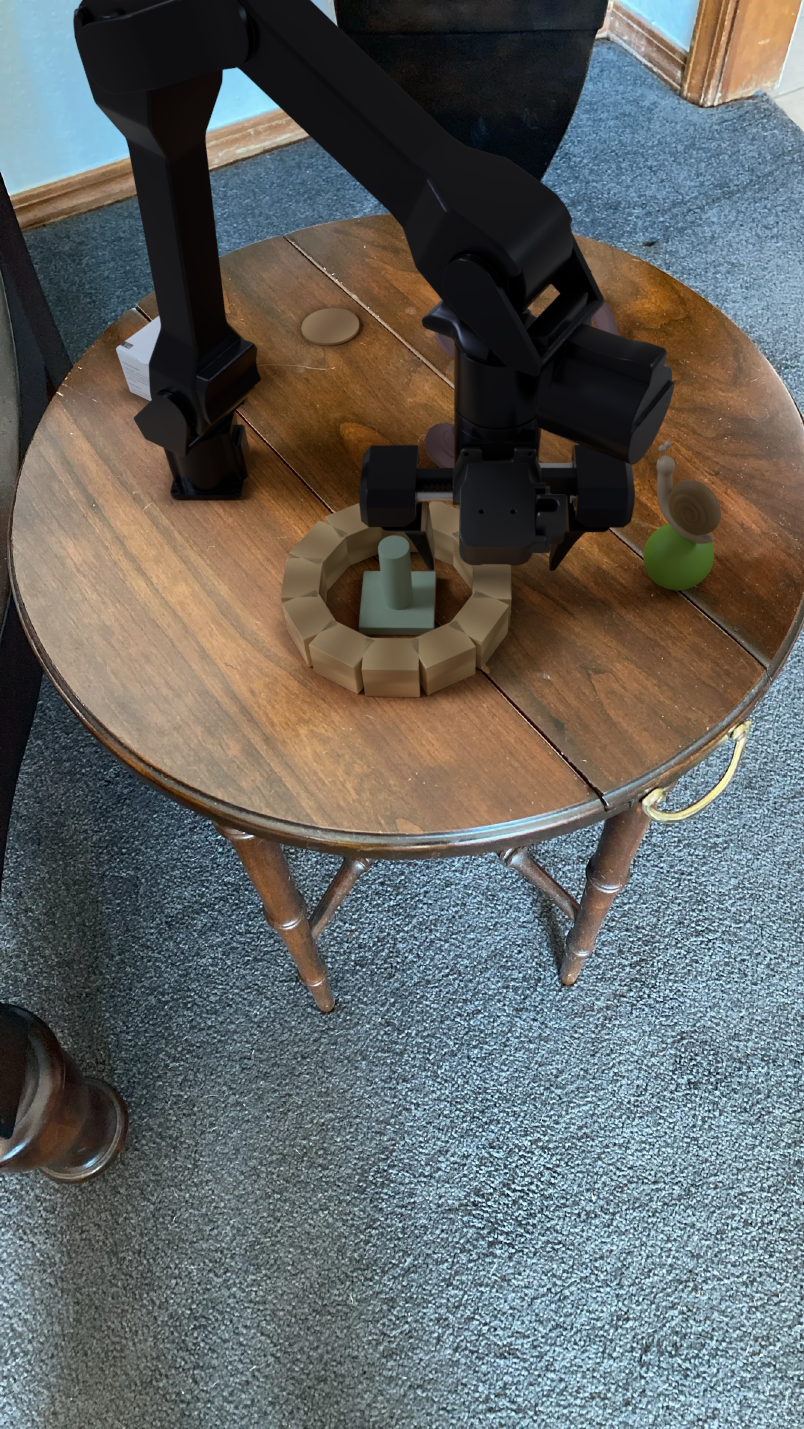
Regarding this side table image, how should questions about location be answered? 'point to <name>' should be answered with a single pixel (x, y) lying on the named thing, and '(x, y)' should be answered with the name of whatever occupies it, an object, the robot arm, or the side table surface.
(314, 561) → the birch ring
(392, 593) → the peg stand
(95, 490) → the side table surface
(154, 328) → the small box
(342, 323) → the cork coaster
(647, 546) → the snail figurine
